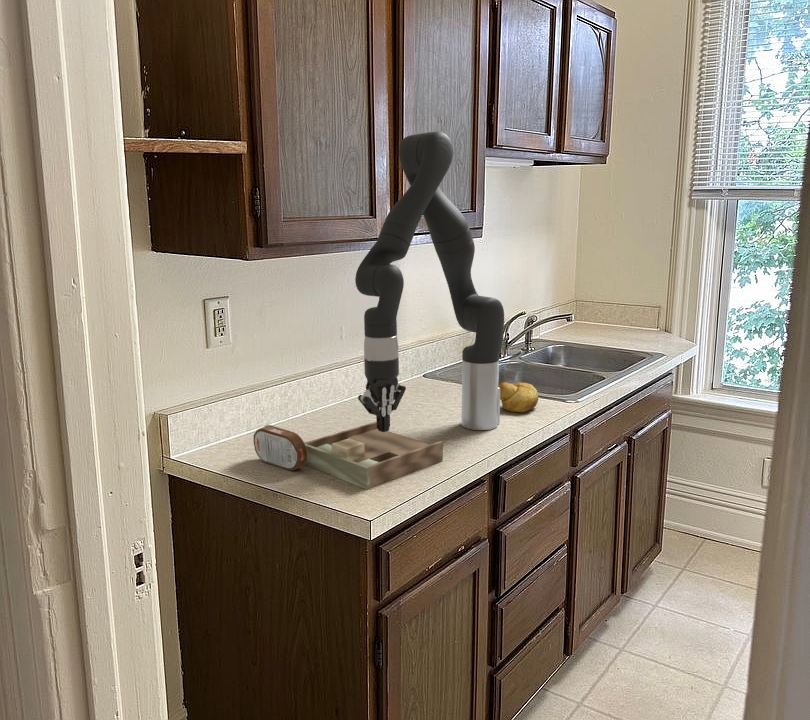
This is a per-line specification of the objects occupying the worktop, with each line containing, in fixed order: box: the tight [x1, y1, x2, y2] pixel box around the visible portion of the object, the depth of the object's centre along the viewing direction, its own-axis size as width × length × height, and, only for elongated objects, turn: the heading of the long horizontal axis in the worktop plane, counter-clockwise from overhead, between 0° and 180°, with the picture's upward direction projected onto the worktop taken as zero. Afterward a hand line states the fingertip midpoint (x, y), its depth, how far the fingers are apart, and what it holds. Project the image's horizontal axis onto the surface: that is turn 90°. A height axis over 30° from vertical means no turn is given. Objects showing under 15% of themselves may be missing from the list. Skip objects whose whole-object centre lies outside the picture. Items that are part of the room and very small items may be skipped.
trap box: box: [304, 421, 444, 490], centre depth 168 cm, size 23×22×4 cm
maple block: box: [331, 439, 365, 461], centre depth 163 cm, size 5×5×3 cm
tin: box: [253, 424, 307, 472], centre depth 166 cm, size 15×3×8 cm, turn 51°
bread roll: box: [498, 381, 540, 413], centre depth 209 cm, size 13×10×8 cm
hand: (383, 430), depth 169 cm, fingers closed
